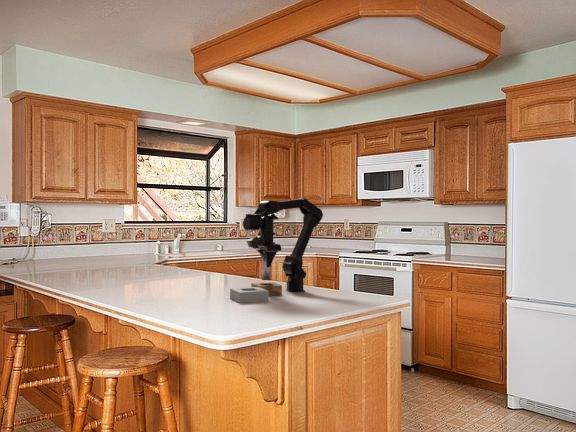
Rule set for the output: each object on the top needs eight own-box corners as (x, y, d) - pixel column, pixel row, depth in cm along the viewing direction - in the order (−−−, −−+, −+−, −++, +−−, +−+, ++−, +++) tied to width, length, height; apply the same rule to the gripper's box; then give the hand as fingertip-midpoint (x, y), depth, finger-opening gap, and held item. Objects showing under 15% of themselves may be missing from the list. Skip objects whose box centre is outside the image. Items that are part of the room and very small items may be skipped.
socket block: (258, 296, 214) (258, 286, 214) (268, 301, 203) (268, 290, 203) (230, 298, 209) (230, 288, 209) (239, 303, 198) (239, 292, 198)
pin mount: (272, 291, 228) (272, 282, 228) (281, 294, 219) (281, 285, 219) (251, 292, 224) (251, 283, 224) (259, 296, 215) (259, 286, 215)
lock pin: (269, 278, 225) (269, 253, 225) (273, 280, 221) (273, 254, 221) (259, 279, 223) (259, 253, 223) (263, 280, 219) (263, 254, 219)
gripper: (241, 229, 227) (241, 265, 227) (256, 230, 210) (256, 269, 210) (265, 229, 232) (265, 264, 232) (282, 230, 214) (281, 268, 215)
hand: (266, 266), depth 222 cm, fingers closed on lock pin, 4 cm apart
